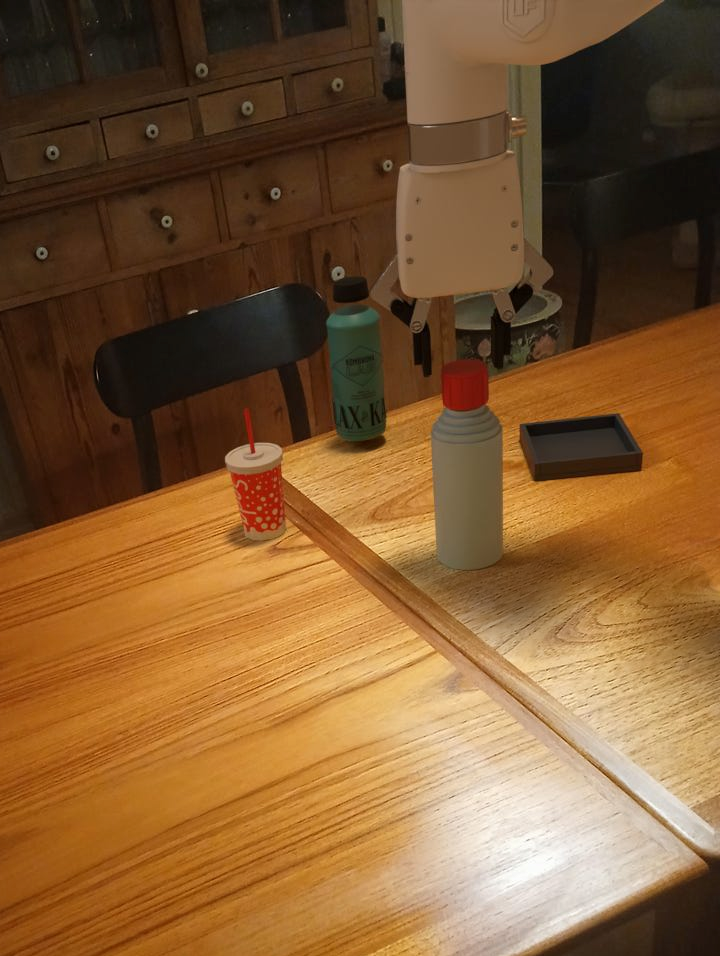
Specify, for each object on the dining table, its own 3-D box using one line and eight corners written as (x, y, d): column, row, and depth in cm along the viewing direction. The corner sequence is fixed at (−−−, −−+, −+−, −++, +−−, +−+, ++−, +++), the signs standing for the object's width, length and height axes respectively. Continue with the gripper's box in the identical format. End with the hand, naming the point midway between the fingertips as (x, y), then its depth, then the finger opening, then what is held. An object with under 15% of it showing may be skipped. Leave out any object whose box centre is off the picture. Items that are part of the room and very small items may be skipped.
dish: (618, 429, 115) (619, 412, 114) (641, 470, 106) (643, 452, 104) (519, 440, 117) (519, 423, 115) (534, 481, 107) (534, 463, 106)
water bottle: (498, 534, 99) (497, 355, 89) (507, 567, 94) (506, 379, 84) (434, 540, 100) (425, 363, 90) (439, 572, 95) (430, 388, 85)
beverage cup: (232, 525, 110) (211, 406, 102) (285, 512, 110) (268, 393, 103) (244, 549, 105) (223, 425, 97) (299, 535, 105) (282, 412, 98)
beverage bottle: (327, 442, 125) (309, 281, 114) (373, 427, 127) (360, 267, 116) (352, 458, 120) (336, 291, 109) (399, 442, 121) (388, 276, 110)
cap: (485, 391, 90) (485, 356, 88) (490, 407, 86) (490, 372, 85) (440, 396, 90) (439, 362, 88) (444, 412, 87) (443, 377, 85)
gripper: (562, 119, 78) (554, 342, 88) (346, 150, 81) (363, 364, 91) (580, 133, 72) (570, 372, 82) (347, 166, 75) (364, 394, 85)
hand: (461, 365), depth 87 cm, fingers open, 5 cm apart
